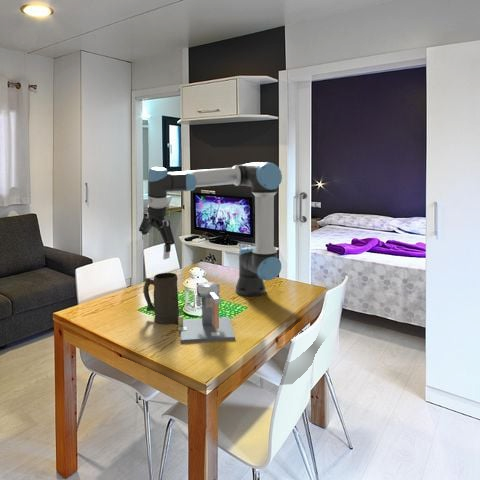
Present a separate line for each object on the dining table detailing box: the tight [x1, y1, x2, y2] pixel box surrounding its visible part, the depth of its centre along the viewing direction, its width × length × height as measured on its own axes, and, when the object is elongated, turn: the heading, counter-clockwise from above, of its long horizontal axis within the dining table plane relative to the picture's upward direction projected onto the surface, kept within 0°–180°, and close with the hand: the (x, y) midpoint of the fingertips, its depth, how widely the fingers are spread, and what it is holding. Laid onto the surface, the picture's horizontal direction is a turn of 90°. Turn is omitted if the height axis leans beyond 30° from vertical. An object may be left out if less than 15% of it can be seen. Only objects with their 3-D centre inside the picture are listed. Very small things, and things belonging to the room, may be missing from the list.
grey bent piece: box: [195, 281, 221, 329], centre depth 160 cm, size 18×9×13 cm, turn 18°
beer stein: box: [143, 272, 180, 325], centre depth 172 cm, size 15×10×20 cm
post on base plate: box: [177, 298, 236, 344], centre depth 161 cm, size 21×20×13 cm
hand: (155, 253), depth 177 cm, fingers open, 13 cm apart
